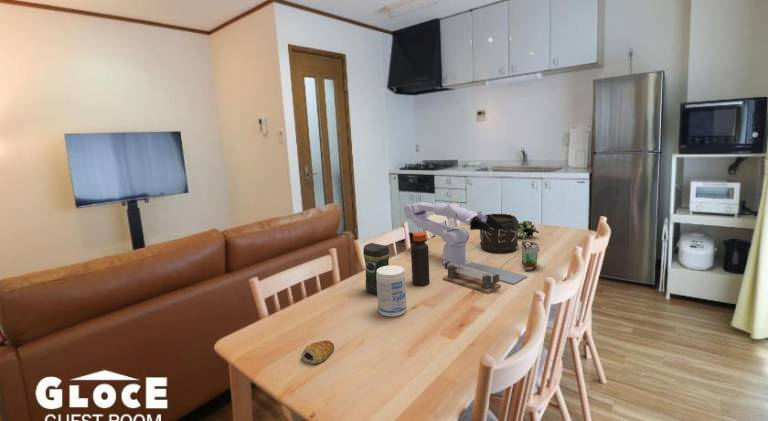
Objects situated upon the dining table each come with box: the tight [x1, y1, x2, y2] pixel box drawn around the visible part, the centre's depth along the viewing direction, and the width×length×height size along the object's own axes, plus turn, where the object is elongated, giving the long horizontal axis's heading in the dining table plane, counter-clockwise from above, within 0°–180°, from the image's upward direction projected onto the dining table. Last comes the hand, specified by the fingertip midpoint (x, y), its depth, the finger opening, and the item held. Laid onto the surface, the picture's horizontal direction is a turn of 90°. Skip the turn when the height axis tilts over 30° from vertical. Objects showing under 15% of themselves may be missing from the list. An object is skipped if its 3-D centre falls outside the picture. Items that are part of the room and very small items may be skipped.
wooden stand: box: [442, 263, 501, 295], centre depth 150 cm, size 21×8×6 cm, turn 42°
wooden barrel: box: [479, 213, 520, 254], centre depth 188 cm, size 18×18×16 cm
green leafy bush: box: [518, 220, 540, 241], centre depth 203 cm, size 11×11×12 cm
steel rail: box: [444, 262, 500, 284], centre depth 149 cm, size 23×2×2 cm, turn 42°
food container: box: [521, 240, 541, 272], centre depth 162 cm, size 12×6×10 cm, turn 168°
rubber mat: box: [464, 261, 528, 286], centre depth 159 cm, size 26×10×1 cm, turn 42°
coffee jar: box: [362, 242, 390, 295], centre depth 146 cm, size 10×8×19 cm
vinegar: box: [410, 232, 430, 287], centre depth 151 cm, size 7×7×20 cm
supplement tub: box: [376, 264, 407, 318], centre depth 130 cm, size 10×10×15 cm
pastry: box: [300, 339, 335, 365], centre depth 108 cm, size 9×7×4 cm
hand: (495, 227), depth 152 cm, fingers open, 7 cm apart
